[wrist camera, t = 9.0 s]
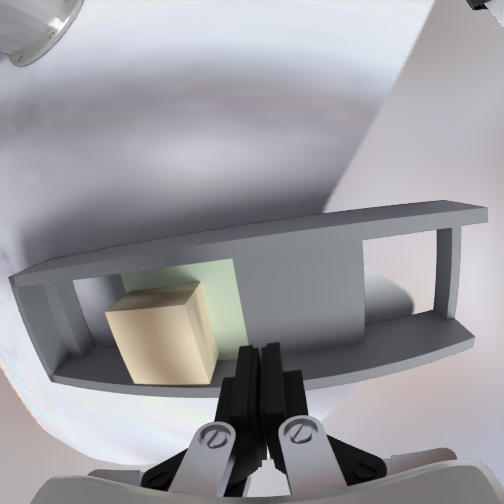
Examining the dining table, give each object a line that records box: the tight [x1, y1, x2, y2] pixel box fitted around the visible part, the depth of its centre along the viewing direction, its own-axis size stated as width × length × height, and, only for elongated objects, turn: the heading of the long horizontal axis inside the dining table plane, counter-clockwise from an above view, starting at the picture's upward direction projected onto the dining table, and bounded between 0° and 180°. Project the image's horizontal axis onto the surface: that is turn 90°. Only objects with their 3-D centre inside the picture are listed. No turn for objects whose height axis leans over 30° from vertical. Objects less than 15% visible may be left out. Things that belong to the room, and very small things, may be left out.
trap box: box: [8, 200, 488, 398], centre depth 20 cm, size 38×11×6 cm, turn 99°
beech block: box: [105, 282, 219, 385], centre depth 19 cm, size 6×6×4 cm
